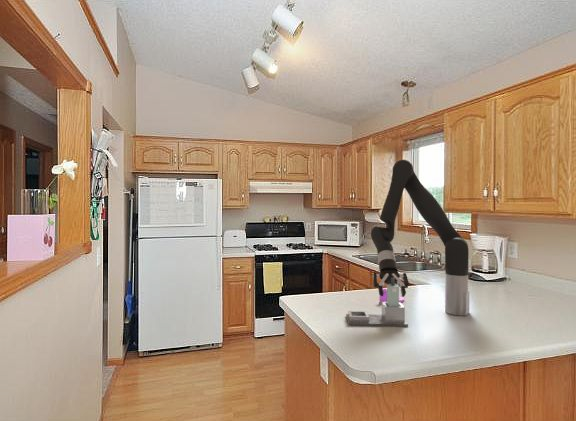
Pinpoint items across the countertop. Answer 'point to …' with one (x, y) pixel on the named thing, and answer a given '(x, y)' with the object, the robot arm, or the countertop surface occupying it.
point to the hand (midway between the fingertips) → (392, 295)
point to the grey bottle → (392, 294)
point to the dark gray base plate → (379, 317)
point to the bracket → (384, 297)
